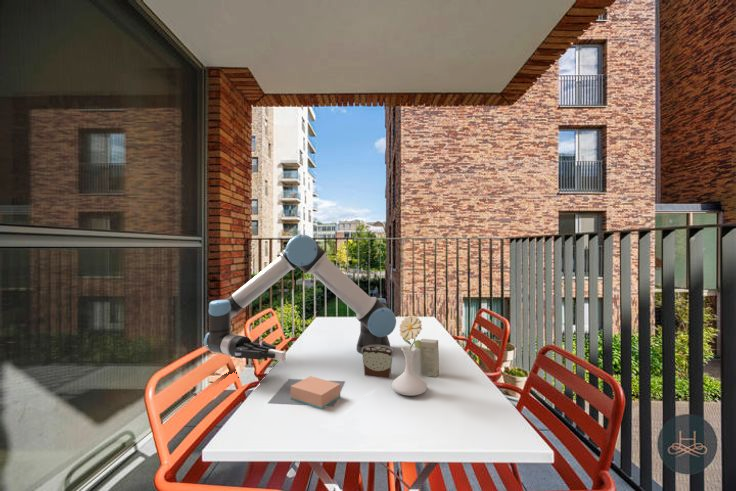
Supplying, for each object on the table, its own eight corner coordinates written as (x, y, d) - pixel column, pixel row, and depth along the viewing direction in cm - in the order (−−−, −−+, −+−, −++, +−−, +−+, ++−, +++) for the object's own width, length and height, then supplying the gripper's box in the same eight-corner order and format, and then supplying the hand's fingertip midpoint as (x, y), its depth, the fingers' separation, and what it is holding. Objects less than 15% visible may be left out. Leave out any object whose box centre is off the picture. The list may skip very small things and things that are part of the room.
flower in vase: (385, 387, 111) (384, 311, 111) (415, 381, 115) (414, 309, 115) (404, 404, 99) (404, 319, 99) (437, 397, 103) (436, 316, 103)
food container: (398, 373, 123) (397, 346, 123) (393, 379, 117) (393, 351, 117) (366, 369, 127) (366, 342, 127) (360, 375, 121) (360, 347, 121)
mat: (345, 383, 114) (345, 381, 114) (333, 408, 96) (333, 406, 96) (288, 380, 117) (288, 378, 117) (267, 405, 99) (267, 403, 99)
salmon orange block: (290, 386, 101) (321, 395, 95) (310, 376, 109) (340, 383, 102) (290, 399, 101) (321, 409, 95) (310, 388, 109) (340, 397, 102)
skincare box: (439, 373, 123) (439, 339, 123) (436, 377, 119) (436, 343, 119) (422, 370, 125) (422, 337, 125) (419, 374, 121) (418, 341, 121)
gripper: (251, 351, 127) (298, 361, 115) (221, 361, 116) (268, 374, 104) (251, 331, 127) (297, 340, 115) (220, 340, 116) (268, 350, 104)
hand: (283, 356), depth 109 cm, fingers closed
